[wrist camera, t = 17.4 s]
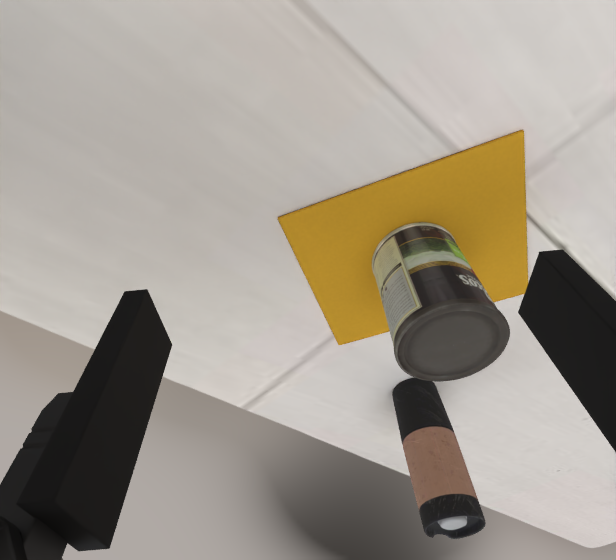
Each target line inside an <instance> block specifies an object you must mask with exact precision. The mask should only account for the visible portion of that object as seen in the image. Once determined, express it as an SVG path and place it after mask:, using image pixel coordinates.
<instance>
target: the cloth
mask: <svg viewBox="0 0 616 560" xmlns="http://www.w3.org/2000/svg"><path fill="white" fill-rule="evenodd" d="M278 221H279V223H280V225H281V227H282V229H283V231H284V233H285V235H286V237H287V239H288V241H289V243H290V245H291V247H292V249H293V252H294V254H295V256H296V258H297V260H298V262H299V264H300V266H301V268H302V270H303V272H304V274H305V276H306V278H307V280H308V283H309V285H310V287H311V289H312V291H313V293H314V295H315V297H316V299H317V301H318V303H319V305H320V307H321V309H322V311H323V314H324V316H325V318H326V320H327V322H328V324H329V326H330V328H331V330H332V332H333V334H334V336H335V338H336V340H337V342H338V345H342V344H346V343H349V342H353V341H356V340H360V339H364V338H367V337H371V336H374V335H378V334H382V333H385V332H389V331H390V330H389V326H388V323H387V319H386V315H385V312H384V308H383V305H382V301H381V297H380V293H379V290H378V286H377V282H376V279H375V276H374V274H373V270H372V257H373V254H374V252H375V249H376V247H377V246H378V244H379V243H380V242H381V241H382V239H383V238H384V237H385V236H387V235H388V234H389V233H390V232H392V231H394V230H395V229H397V228H399V227H402V226H404V225H407V224H411V223H419V222H427V223H433V224H436V225H439V226H441V227H443V228H445V229H446V230H447V231H449V232H450V233H451V234H452V236H453V237H454V239H455V241H456V244H457V245H458V247H459V248H460V250H461V252H462V253H463V255H464V257H465V258H466V260H467V261H468V263H469V265H470V266H471V268H472V269H473V271H474V273H475V274H476V276H477V277H478V279H479V280H480V282H481V283H482V285H483V287H484V288H485V290H486V291H487V293H488V295H489V296H490V298H491V299H492V301H493V302H496V301H500V300H504V299H507V298H511V297H514V296H518V295H521V294H525V292H526V289H527V286H528V263H527V227H526V190H525V154H524V131H523V130H520V131H517V132H514V133H512V134H509V135H506V136H503V137H500V138H498V139H495V140H492V141H489V142H487V143H484V144H481V145H478V146H475V147H473V148H470V149H467V150H464V151H461V152H459V153H456V154H453V155H450V156H447V157H445V158H442V159H439V160H436V161H434V162H431V163H428V164H425V165H422V166H420V167H417V168H414V169H411V170H408V171H406V172H403V173H400V174H397V175H394V176H392V177H389V178H386V179H383V180H381V181H378V182H375V183H372V184H369V185H367V186H364V187H361V188H358V189H355V190H353V191H350V192H347V193H344V194H341V195H339V196H336V197H333V198H330V199H328V200H325V201H322V202H319V203H316V204H314V205H311V206H308V207H305V208H302V209H300V210H297V211H294V212H291V213H288V214H286V215H283V216H280V217H278Z"/></svg>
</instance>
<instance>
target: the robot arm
mask: <svg viewBox="0 0 616 560" xmlns="http://www.w3.org/2000/svg"><path fill="white" fill-rule="evenodd" d="M518 313H519V314H520V316H521V317H522V319H523V320H524V322H525V323H526V324H527V326H528V327H529V329H530V330H531V332H532V333H533V334H534V336H535V337H536V339H537V340H538V342H539V343H540V344H541V346H542V347H543V349H544V350H545V352H546V353H547V354H548V356H549V357H550V359H551V360H552V362H553V363H554V364H555V366H556V367H557V369H558V370H559V372H560V373H561V374H562V376H563V377H564V379H565V380H566V382H567V383H568V384H569V386H570V387H571V389H572V390H573V392H574V393H575V395H576V396H577V397H578V399H579V400H580V402H581V403H582V405H583V406H584V407H585V409H586V410H587V412H588V413H589V415H590V416H591V417H592V419H593V420H594V422H595V423H596V425H597V426H598V427H599V429H600V430H601V432H602V433H603V435H604V436H605V437H606V439H607V440H608V442H609V443H610V445H611V446H612V447H613V449H614V450H615V452H616V301H615V300H614V299H613V298H612V297H611V296H610V295H609V294H608V293H607V292H606V291H605V290H604V289H603V288H602V287H601V286H600V285H599V284H598V283H597V282H595V281H594V280H593V279H592V278H591V277H590V276H589V275H588V274H587V273H586V272H585V271H584V270H583V269H582V268H581V267H580V266H579V265H578V264H577V263H576V262H575V261H574V260H573V259H572V258H571V257H570V256H569V255H568V254H567V253H566V252H565V251H564V250H553V251H543V252H539V255H538V258H537V260H536V263H535V266H534V269H533V272H532V275H531V277H530V280H529V283H528V286H527V289H526V292H525V294H524V297H523V300H522V303H521V306H520V309H519V311H518ZM171 347H172V343H171V341H170V339H169V337H168V334H167V332H166V330H165V328H164V325H163V323H162V321H161V319H160V317H159V314H158V312H157V310H156V308H155V305H154V303H153V301H152V299H151V297H150V294H149V292H148V290H147V289H146V290H135V291H125V292H124V294H123V296H122V298H121V300H120V302H119V304H118V306H117V308H116V310H115V312H114V313H113V315H112V317H111V319H110V321H109V323H108V325H107V327H106V329H105V331H104V333H103V335H102V337H101V339H100V341H99V343H98V345H97V347H96V349H95V351H94V353H93V355H92V356H91V358H90V361H89V362H88V364H87V366H86V368H85V370H84V372H83V374H82V376H81V378H80V380H79V382H78V384H77V386H76V388H75V390H74V392H68V393H58V394H57V395H56V396H55V397H54V399H53V400H52V401H51V402H50V403H49V404H48V405H47V406H46V407H45V408H44V409H43V410H42V411H41V413H40V415H39V417H38V418H37V420H36V422H35V424H34V426H33V427H32V432H31V433H29V434H28V436H27V438H26V440H25V442H24V443H23V448H22V449H20V451H19V452H18V454H17V456H16V458H15V459H14V461H13V463H12V465H11V466H10V468H9V470H8V472H7V474H6V476H5V477H4V479H3V481H2V482H1V484H0V560H63V559H62V556H63V553H64V550H65V548H66V545H67V543H68V544H70V545H71V546H72V547H74V548H75V549H76V550H78V551H86V550H98V549H109V548H110V545H111V542H112V539H113V535H114V532H115V529H116V526H117V522H118V519H119V516H120V513H121V509H122V506H123V503H124V500H125V496H126V493H127V490H128V487H129V483H130V480H131V477H132V474H133V470H134V467H135V464H136V461H137V457H138V454H139V450H140V448H141V444H142V441H143V438H144V435H145V431H146V428H147V425H148V422H149V418H150V415H151V412H152V409H153V405H154V402H155V399H156V395H157V392H158V389H159V386H160V383H161V379H162V376H163V373H164V370H165V366H166V363H167V360H168V357H169V353H170V350H171Z"/></svg>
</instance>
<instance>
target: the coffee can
mask: <svg viewBox="0 0 616 560" xmlns="http://www.w3.org/2000/svg"><path fill="white" fill-rule="evenodd" d="M372 270H373V274H374V276H375V279H376V282H377V286H378V290H379V293H380V297H381V301H382V305H383V308H384V312H385V315H386V319H387V323H388V326H389V330H390V334H391V337H392V341H393V345H394V354H395V358H396V361H397V363H398V365H399V366H400V367H401V369H402V370H403V371H404V372H406V373H407V374H409V375H411V376H413V377H415V378H418V379H421V380H426V381H450V380H456V379H460V378H464V377H467V376H470V375H472V374H474V373H476V372H478V371H480V370H482V369H484V368H485V367H487V366H489V365H490V364H491V363H493V362H494V361H495V360H496V359H497V358H498V357H499V356H500V355H501V353H502V352H503V351H504V349H505V347H506V345H507V343H508V340H509V336H510V329H509V325H508V322H507V320H506V319H505V317H504V316H503V314H502V313H501V312H500V311H499V310H498V309H497V308H496V306H495V304H494V303H493V301H492V299H491V298H490V296H489V295H488V293H487V291H486V290H485V288H484V287H483V285H482V283H481V282H480V280H479V279H478V277H477V276H476V274H475V273H474V271H473V269H472V268H471V266H470V265H469V263H468V261H467V260H466V258H465V257H464V255H463V253H462V252H461V250H460V248H459V247H458V245H457V244H456V241H455V239H454V237H453V236H452V234H451V233H450V232H449V231H447V230H446V229H445V228H443V227H441V226H439V225H436V224H433V223H427V222H419V223H411V224H407V225H404V226H402V227H399V228H397V229H395V230H394V231H392V232H390V233H389V234H388V235H387V236H385V237H384V238H383V239H382V241H381V242H380V243H379V244H378V246H377V247H376V249H375V252H374V254H373V257H372Z"/></svg>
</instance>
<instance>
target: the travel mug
mask: <svg viewBox="0 0 616 560" xmlns="http://www.w3.org/2000/svg"><path fill="white" fill-rule="evenodd" d="M393 401H394V406H395V411H396V415H397V420H398V425H399V430H400V435H401V440H402V444H403V449H404V453H405V457H406V461H407V465H408V469H409V473H410V477H411V480H412V484H413V488H414V492H415V496H416V500H417V504H418V508H419V512H420V516H421V520H422V524H423V528H424V531H425V533H426V535H427V536H429V537H432V538H433V537H434V535H436V534H443V535H446V536H448V537H449V538H451V539H458V538H463V537H467V536H470V535H473V534H475V533H477V532H479V531H481V530H482V529H483V528H484V527H485V519H484V516H483V513H482V510H481V507H480V504H479V502H478V499H477V496H476V493H475V490H474V487H473V484H472V481H471V479H470V476H469V473H468V470H467V467H466V464H465V462H464V459H463V456H462V453H461V450H460V447H459V444H458V442H457V439H456V436H455V434H454V431H453V428H452V426H451V423H450V421H449V418H448V416H447V413H446V411H445V408H444V406H443V403H442V401H441V398H440V396H439V393H438V391H437V388H436V386H435V384H434V383H433V382H432V381H426V380H421V379H418V378H412V379H408V380H405V381H403V382H401V383H399V384H398V385H397V386H396V387H395V388H394V390H393Z"/></svg>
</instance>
